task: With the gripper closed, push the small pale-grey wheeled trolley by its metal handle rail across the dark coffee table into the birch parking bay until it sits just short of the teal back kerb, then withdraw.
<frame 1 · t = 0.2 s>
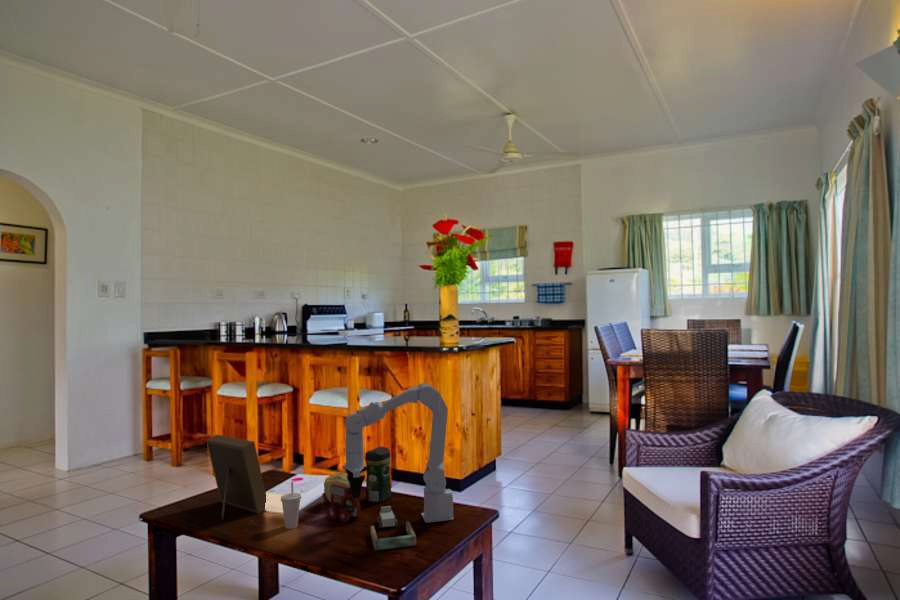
hand: (355, 493, 171), 10 cm above the table, fingers open, 7 cm apart
coffee jar: (378, 499, 195), on the table
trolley: (387, 524, 170), on the table
bay: (392, 539, 159), on the table
smoothie: (291, 527, 170), on the table
toy fire truck: (344, 518, 177), on the table
photo frame: (231, 511, 185), on the table
sculpture: (342, 503, 191), on the table
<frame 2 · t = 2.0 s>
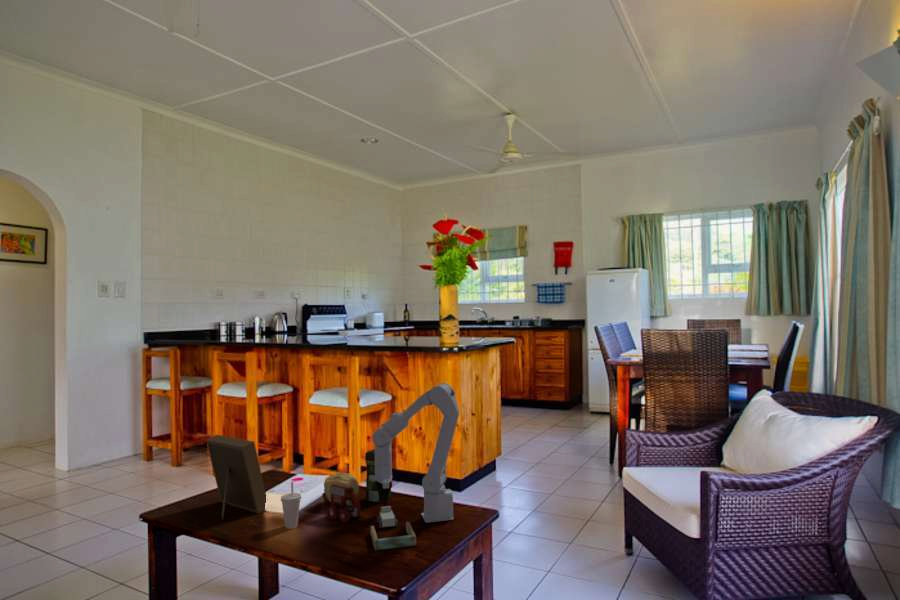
hand: (383, 503, 179), 4 cm above the table, fingers closed
nothing on the table moved.
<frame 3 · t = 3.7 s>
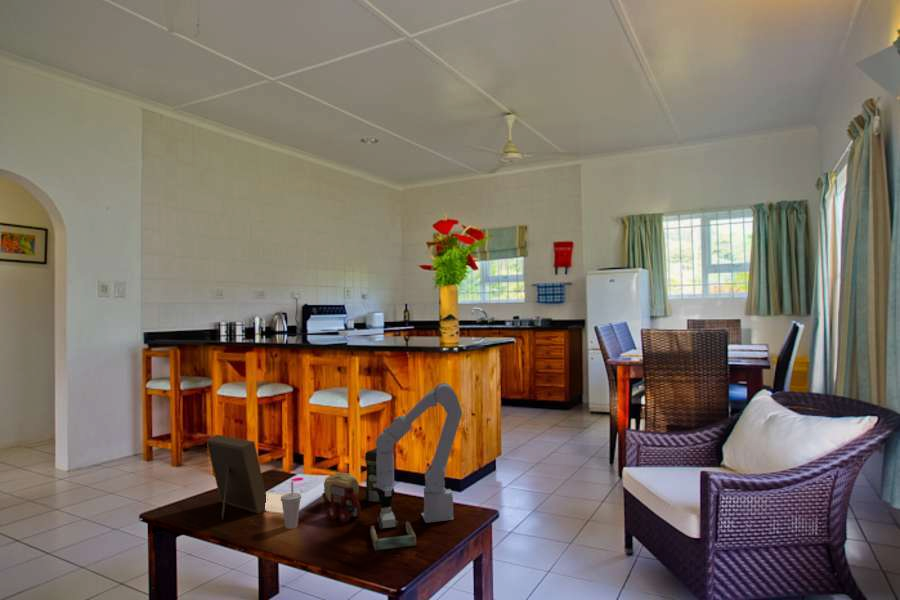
hand: (385, 511, 174), 3 cm above the table, fingers closed
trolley: (387, 525, 170), on the table, touching gripper
everything else where it was.
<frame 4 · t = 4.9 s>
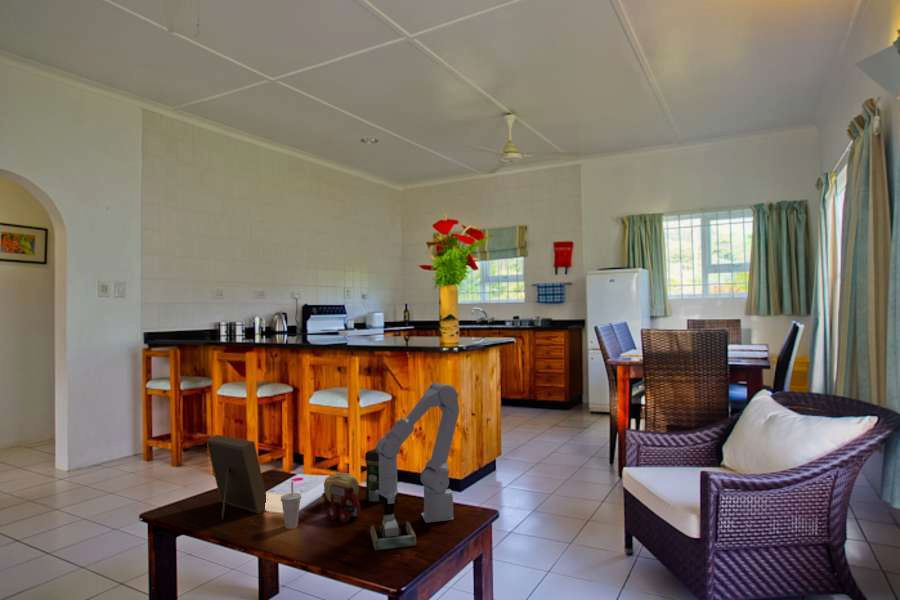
hand: (388, 519, 167), 3 cm above the table, fingers closed
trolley: (390, 533, 163), on the table, touching gripper
everything else where it was.
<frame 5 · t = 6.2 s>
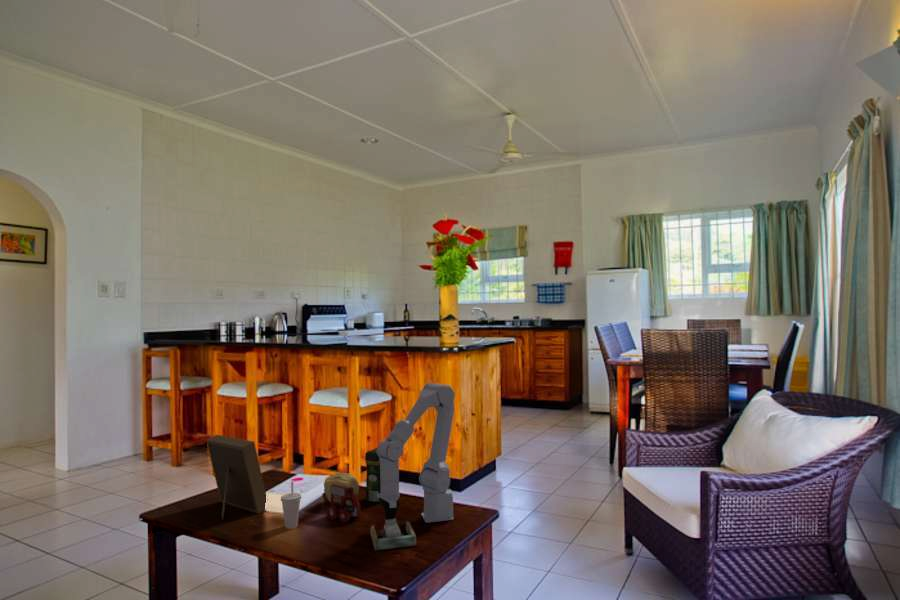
hand: (390, 523, 164), 3 cm above the table, fingers closed
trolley: (392, 538, 159), on the table, touching gripper
everything else where it was.
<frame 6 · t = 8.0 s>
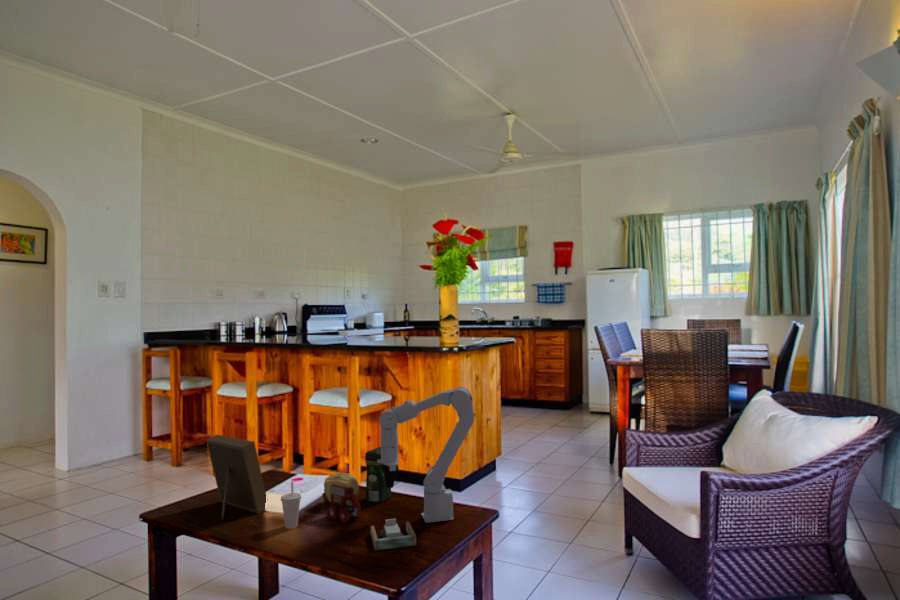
hand: (389, 487, 177), 10 cm above the table, fingers closed
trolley: (392, 538, 159), on the table
everything else where it was.
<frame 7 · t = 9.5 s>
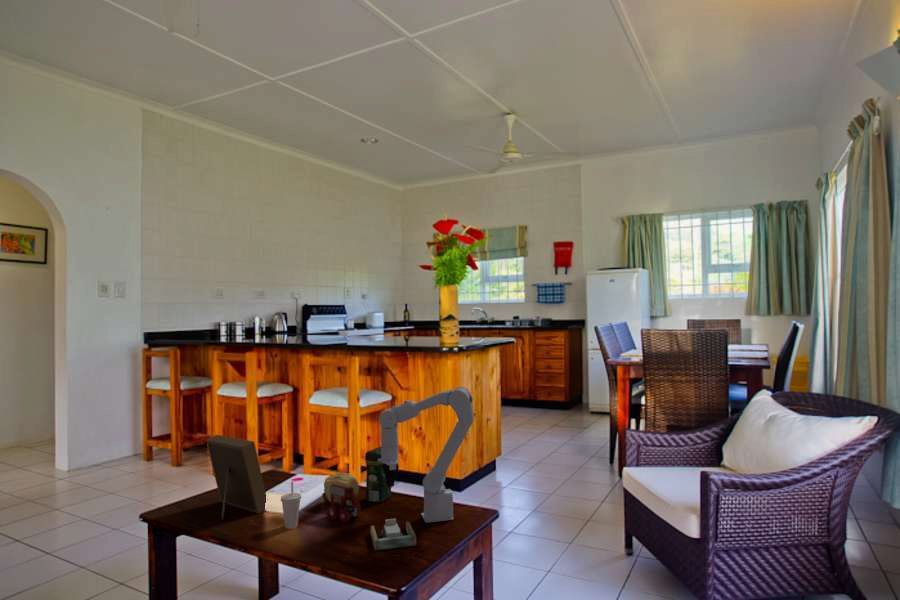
hand: (390, 486, 178), 10 cm above the table, fingers closed
nothing on the table moved.
at the end: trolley inside the target area (1.0 cm from its centre), on the table; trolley tilted 0° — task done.
